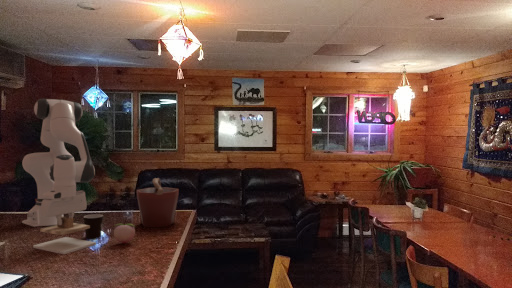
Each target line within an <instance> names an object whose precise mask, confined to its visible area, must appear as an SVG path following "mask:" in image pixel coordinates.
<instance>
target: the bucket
mask: <svg viewBox="0 0 512 288" xmlns="http://www.w3.org/2000/svg"><path fill="white" fill-rule="evenodd" d="M152 184H153V186H154V187H145V188H139V189H136V198H137V204H138V209H139V214H140V219H141V223H142V226H143V227H148V228H162V227H168V225H170V226H172V224H173V223H174V221H175V215H176V209H177V205H178V199H179V194H180V193H179V190H180V189H179V188H175V187H174V188H173V187H165V186H164V187H162V182H161V178H159V177H157V178H156V177H155V178H153V179H152Z"/></svg>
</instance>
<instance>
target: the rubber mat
mask: <svg viewBox="0 0 512 288" xmlns="http://www.w3.org/2000/svg"><path fill="white" fill-rule="evenodd" d="M96 245H97V242H96V241H91V240H90V241H89V240H84V239H80V238H79V239H78V238H73V237H69V236H64V237H59V238H55V239H52V240H48V241H45V242H41V243H37V244H33V245H32V247H33V249H37V250H41V251H46V252H52V253H55V254H60V255H66V254H67V255H68V254H69V253H73V252H76V251H80V250H83V249H86V248H90V247H93V246H96Z"/></svg>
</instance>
